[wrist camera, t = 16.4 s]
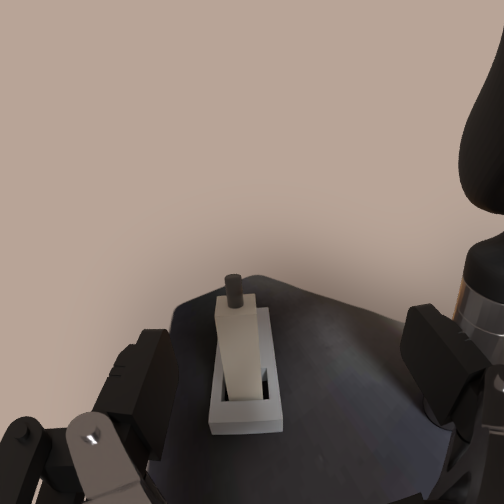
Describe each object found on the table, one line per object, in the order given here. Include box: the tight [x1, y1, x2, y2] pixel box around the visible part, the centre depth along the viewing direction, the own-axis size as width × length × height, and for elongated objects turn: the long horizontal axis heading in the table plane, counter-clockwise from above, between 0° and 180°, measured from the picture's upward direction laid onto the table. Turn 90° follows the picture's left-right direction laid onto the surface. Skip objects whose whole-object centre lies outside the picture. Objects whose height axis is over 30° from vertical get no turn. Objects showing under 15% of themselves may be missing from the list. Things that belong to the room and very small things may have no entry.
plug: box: [215, 274, 263, 401], centre depth 31 cm, size 4×4×17 cm
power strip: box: [208, 307, 283, 435], centre depth 42 cm, size 29×8×3 cm, turn 1°
